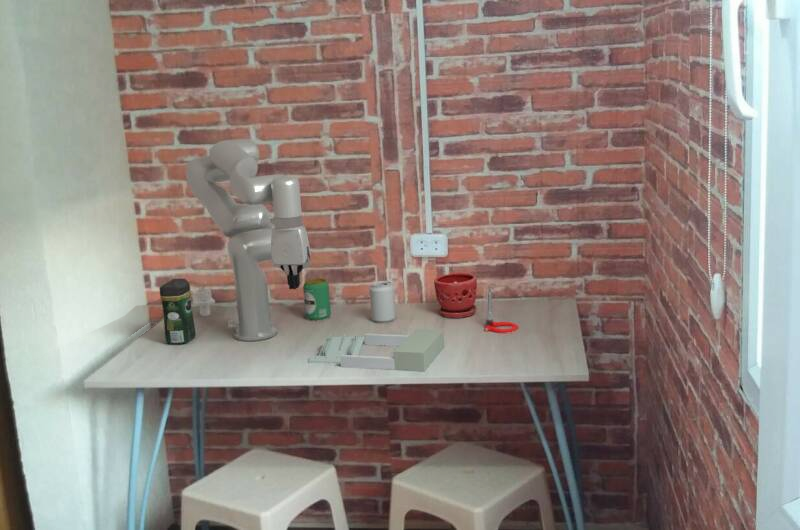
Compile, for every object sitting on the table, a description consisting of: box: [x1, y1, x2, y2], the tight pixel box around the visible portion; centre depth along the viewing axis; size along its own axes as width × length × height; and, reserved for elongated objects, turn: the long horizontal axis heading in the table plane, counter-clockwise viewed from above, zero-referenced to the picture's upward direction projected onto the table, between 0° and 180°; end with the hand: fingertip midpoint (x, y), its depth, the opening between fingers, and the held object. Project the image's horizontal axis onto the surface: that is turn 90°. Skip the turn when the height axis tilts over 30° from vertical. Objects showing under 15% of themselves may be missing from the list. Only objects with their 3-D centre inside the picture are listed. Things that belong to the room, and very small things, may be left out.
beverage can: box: [302, 278, 332, 322], centre depth 287 cm, size 8×8×12 cm
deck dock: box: [340, 328, 445, 372], centre depth 246 cm, size 23×20×5 cm
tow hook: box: [484, 285, 519, 334], centre depth 264 cm, size 8×13×9 cm
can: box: [369, 280, 397, 324], centre depth 280 cm, size 8×8×12 cm
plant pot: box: [433, 272, 478, 319], centre depth 282 cm, size 13×13×12 cm
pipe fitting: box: [192, 288, 216, 317], centre depth 299 cm, size 6×7×8 cm
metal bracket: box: [308, 332, 365, 364], centre depth 250 cm, size 14×6×15 cm
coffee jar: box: [159, 278, 197, 346], centre depth 270 cm, size 10×8×19 cm
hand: (294, 287), depth 251 cm, fingers closed
